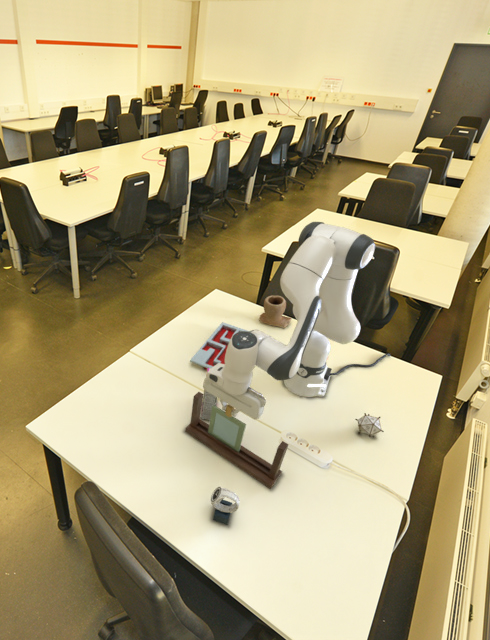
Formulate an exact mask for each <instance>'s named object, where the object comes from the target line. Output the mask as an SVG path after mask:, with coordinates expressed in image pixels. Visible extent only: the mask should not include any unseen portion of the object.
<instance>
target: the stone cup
mask: <svg viewBox="0 0 490 640" xmlns="http://www.w3.org/2000/svg"><path fill="white" fill-rule="evenodd" d="M286 308H287V301H286V299H285V298H284V297H283V296H281V295H273V294H272V295H269V296H267V297H266V298H265V299H264V301H263V311H264V312H262V313H261V314H260V315H259V318H258V319H259V321H260V323H262V324H265V325H268V326H269V325H270V326H274V327H279V328H285V329H286V327H287V326H289V324H290V323H291V321H292V317H289V316H285V315H283V314H284V313H285V310H286Z"/></svg>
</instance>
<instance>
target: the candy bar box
mask: <svg viewBox="0 0 490 640" xmlns="http://www.w3.org/2000/svg"><path fill="white" fill-rule="evenodd" d="M210 369H211V368H207V370H206V374H205V377H206V376H207V372H208V371H209V370H210ZM217 399H218V398H217V397H215V396H214V395H212V394H210V393H208V392H207V391H205V390H204V389H203V401H202V408H201V415H200V419H201V420H204V421H205V420H206V421H210V417H211V411H212V406H213V405H215V406H216V407H217V401H218V400H217Z"/></svg>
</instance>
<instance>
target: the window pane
mask: <svg viewBox="0 0 490 640" xmlns="http://www.w3.org/2000/svg"><path fill="white" fill-rule="evenodd" d="M233 409H234V407H232V406H231V405H229V404H228V405H227V408H226V411H224V410H222V408H220V407H218V406H217V405H216V406H215V405H213V406H212V411H211V417H210V420H209V422H208V424H209V429H208V433H209V434H210V435H212V436H213V437H215V438H216V439H218V440H219V441H221V442H223V443H224V444H226V445H227V446H229V447H230V448H232V449H233V450H235V451H236V452H238V453H239V451H240V447H241V445H242V443H243V438H244V435H245V432H246V431H245V430H246V427H247V424H246V423H245V422H244V421H242V420H240V419H238V418H237V417H236V416H235V417H234V416H232V415H231V411H232V410H233Z"/></svg>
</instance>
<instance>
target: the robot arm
mask: <svg viewBox="0 0 490 640" xmlns="http://www.w3.org/2000/svg"><path fill="white" fill-rule="evenodd" d="M297 242H298V243H297V244H298V248H297V250H296V251H295V252H294V254H293V255H292V257H291V258H290V260H289V261H288V262H287V264H286V266H285V268H284V269H283V271H282V273H281V275H280V279H279V284H280V285H279V286H280V288H281V291H282V293H283V295H284V296H285V297H286V298H287V299H288V301H289V302H290V303H291V304H292V315H293V316H294V317H295V319H296V325H295V327H294V330H293V332H292V335H291V337H290V339H289V342H288V344H285V343H283V342H281V341H280V340H277V339H276V338H274V337H272V336H271V335H269V334H267V333H265V332H263V331H261V330H259V329H252V330H247V331H240V332H237V333H235V334H234V335H233V336H232V338H231V339H230V342H229V344H228V347H227V350H226V355H225V364H221V363H218V364H216V365H215V366H213V367H212V368H211V369H210V370H209V371H208V372H207V371H206V374H207V376H206V375H205V377H204V381H203V384H202V388H203V391H204V390H205V391H207V392H208V393H210V394H212V395H214V396H215V397H217V399H219V402H220V404H221V410H223V411H225V412H226V408H227V405H228V404H229V405H231V406H232V407H234V409H233V410H232V411H231V415H232V416H233V417H235V418H236V416H237V415H238V413H240V412H241V413H242V414H244V415H246V416H247V417H249V418H251V419H252V420H256V421H257V420H259V419H260V418H261V417H262V416H263V414H264V411H265V406H266V402H267V399H266V398H265V396H263V393H261V392H258V391H256V390H255V389H253V388H252V387H251V385H252V381H253V376H254V372H253V370H254V369H255V367H257V368H259V369H261V370H263V371H264V372H266V373H267V374H268V375H269V376H271V378H273V379H274V380H276V381H283V384H284V386H285V387H286V389H287V390H288V391H289V392H290V393H292V394H294V395H296V396H300V397H303V398H313V397H318V398H319V397H320V398H323V397H325V395H326V391H327V390H328V389H327V388H328V385H329V382H330V380H331V379H330V378H331V376H338V375H339V374H340V373H341V372H343V371H344V370H346V369H347V368H350V367H360V368H371V367H374V366H376V365H377V364H378V363H379V362H381V360H383V359H384V358H386V357H392V355H391V353H385V354H383V355H382V356H380V357H379V358H377V359H376V360H375V361H374V362H373V363H371V364H361V363H360V364H359V363H350V364H346V365H345V366H342V368H340V369H339V370H337V371H336V372H332V369H333V368H331V367H329V366H328V365H327V360H329V356H330V352H331V347H332V346H331V342H330V341H332V342H335V343H337V344H339V345H348V344H351V343H352V342H354V341H355V340H357V338H358V336H359V335H360V333H361V323H360V321H359V319H358V318H357V316H356V314H355V312H354V309H353V305H352V293H353V288H354V284H355V281H356V278H357V274H358V272H359V270H361V269H363V268H365V267H366V266H367V265H368V264H369V263H370V261H371V260H372V259H373V257H374V255H375V249H376V244H375V240H374V238H372V237H371V236H369V235H367V234H365V233H359V232H358V231H356V230H353V229H350V228H347V227H344V226H339V225H335V224H328V223H325V222H323V221H311V222H310V223H308V224H306V225H305V226H303V228H302V230H301V231H300V234H299V237H298V239H297ZM248 331H249V332H248ZM386 355H388V356H386Z"/></svg>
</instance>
